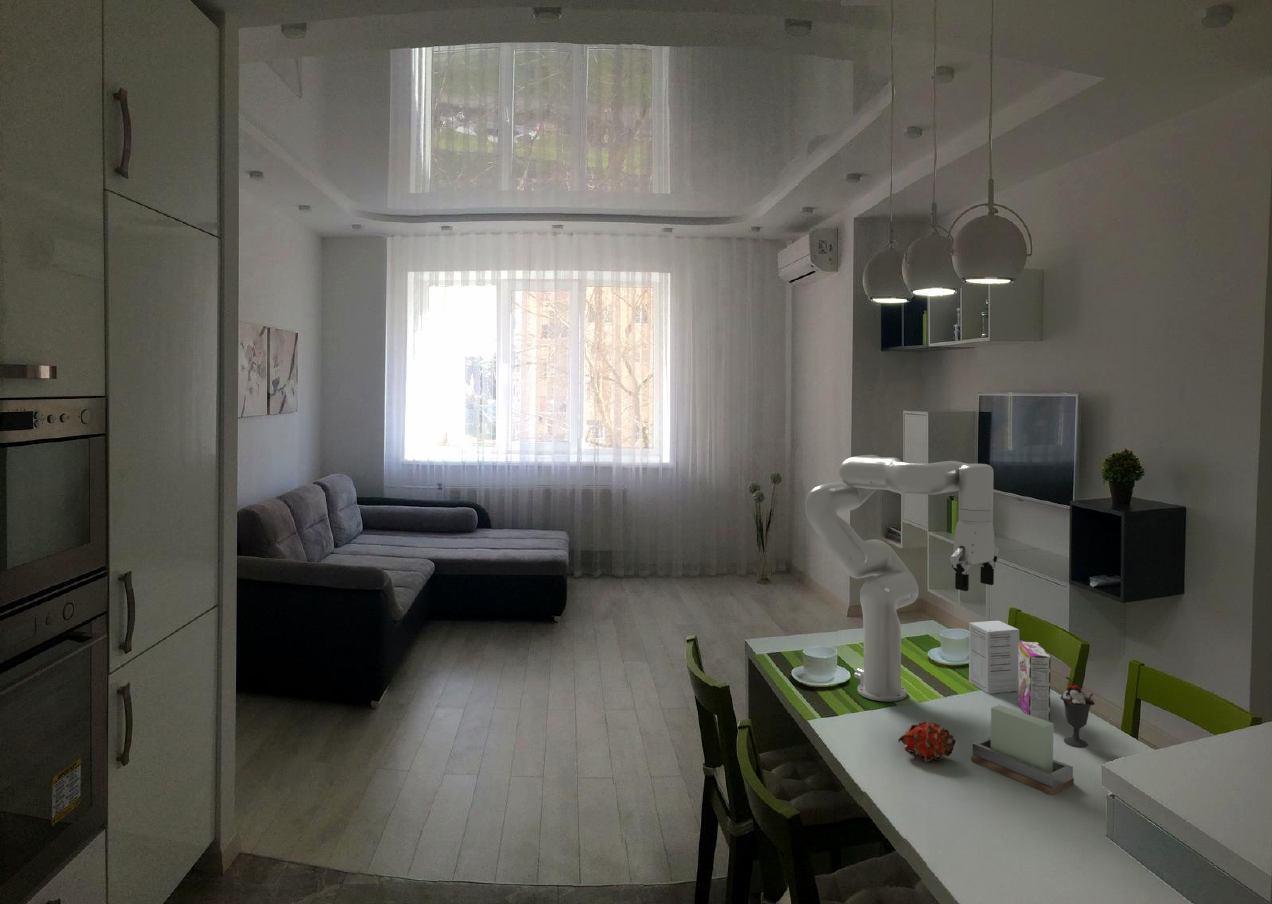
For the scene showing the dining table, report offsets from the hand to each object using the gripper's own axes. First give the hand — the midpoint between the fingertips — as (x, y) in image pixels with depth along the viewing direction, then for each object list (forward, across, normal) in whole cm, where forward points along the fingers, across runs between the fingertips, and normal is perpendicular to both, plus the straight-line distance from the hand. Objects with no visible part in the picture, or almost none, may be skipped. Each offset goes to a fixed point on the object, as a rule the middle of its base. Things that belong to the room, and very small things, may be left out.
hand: (974, 586), depth 191 cm
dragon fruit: (+34, +24, +6) cm, 42 cm away
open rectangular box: (+33, +14, +21) cm, 42 cm away
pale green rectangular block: (+32, +14, +21) cm, 41 cm away
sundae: (+34, -9, +20) cm, 40 cm away
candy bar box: (+34, -17, +5) cm, 38 cm away
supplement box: (+34, -25, -11) cm, 43 cm away
